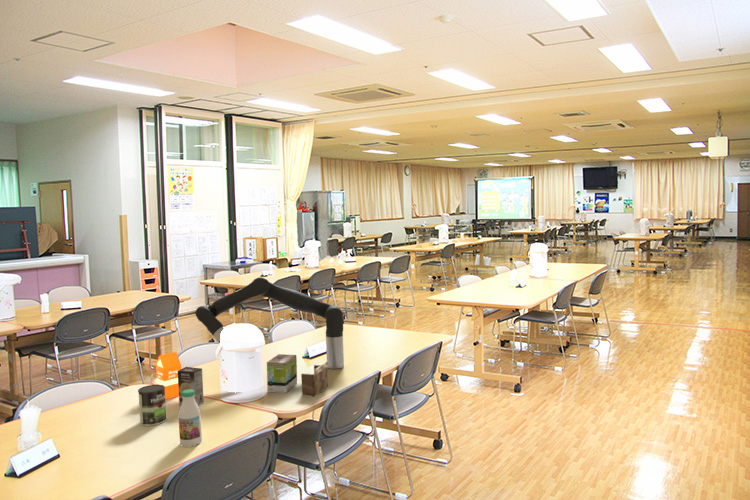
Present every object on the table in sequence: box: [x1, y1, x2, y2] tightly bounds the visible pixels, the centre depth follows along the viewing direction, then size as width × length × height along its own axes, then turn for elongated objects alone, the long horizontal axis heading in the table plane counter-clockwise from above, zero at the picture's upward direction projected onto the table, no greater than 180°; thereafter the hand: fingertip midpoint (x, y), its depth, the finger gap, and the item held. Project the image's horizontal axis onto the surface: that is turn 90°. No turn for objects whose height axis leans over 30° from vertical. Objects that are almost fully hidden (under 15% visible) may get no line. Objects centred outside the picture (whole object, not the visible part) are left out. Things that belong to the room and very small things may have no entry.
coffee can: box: [137, 384, 167, 427], centre depth 225 cm, size 10×10×14 cm
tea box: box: [266, 353, 298, 394], centre depth 263 cm, size 15×10×15 cm, turn 168°
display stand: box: [300, 360, 329, 397], centre depth 257 cm, size 15×7×12 cm, turn 162°
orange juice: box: [155, 351, 182, 400], centre depth 257 cm, size 8×9×20 cm
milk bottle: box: [178, 389, 203, 447], centre depth 202 cm, size 8×8×20 cm
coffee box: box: [178, 366, 205, 406], centre depth 244 cm, size 9×6×16 cm
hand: (247, 362), depth 269 cm, fingers closed
